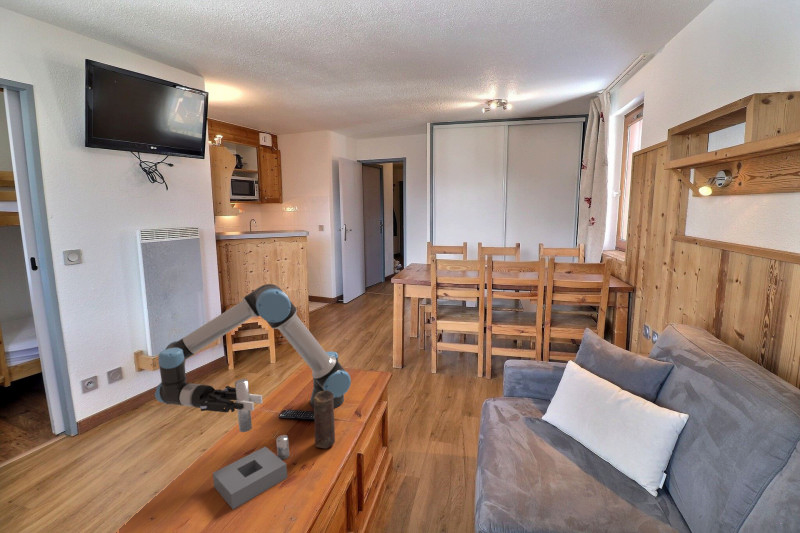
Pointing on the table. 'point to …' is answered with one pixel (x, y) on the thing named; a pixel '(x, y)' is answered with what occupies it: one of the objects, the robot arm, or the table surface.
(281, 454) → the short pin
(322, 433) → the brown textured cylinder
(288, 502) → the table surface
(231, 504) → the guide block
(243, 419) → the long pin
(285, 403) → the table surface
